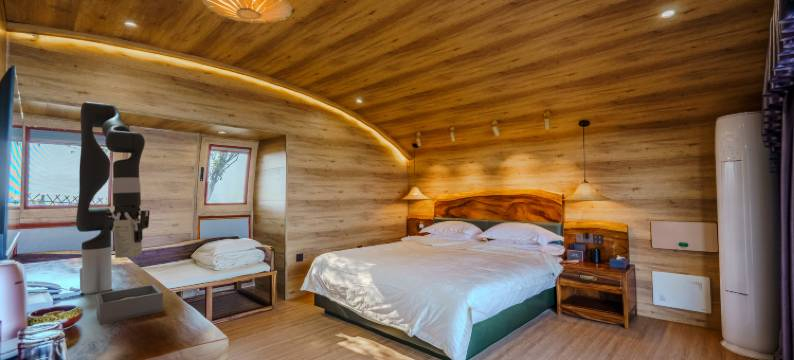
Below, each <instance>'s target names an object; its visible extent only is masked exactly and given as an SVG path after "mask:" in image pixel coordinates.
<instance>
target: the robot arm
mask: <svg viewBox="0 0 794 360" xmlns="http://www.w3.org/2000/svg"><path fill="white" fill-rule="evenodd" d="M93 128H100V129H101V131H102V134H103V135H104V137H105V147H106V149H107V150H109V152H113V153H117V154H118V153H119V154H121V153H123V154H124V153H125V154H130V156H129V157H128V158H125V159H118V160H115V161H114V162H113V163H112V174H113V175H112V177H113V179H112V184H111V185H112V186H111V187H112V206H113V207H114V210H113V211H111V208H109V207H90V205H91V203H92V201H93V199H94V197H95V196H96V195H97V193H98V192H99V191H100V190H102V188H103V187H104V186H105V185H106V184H107V182H108V180H109V179H110V175H111V173H110V171H111V161H110V159H109V157H108V155H107V154H106V152H105V151H104V149H103V148H102V147H101V145H100V144H99V143H98V141H97V139H96V138H95V134H94V131H93V130H94V129H93ZM80 134H81V135H80V136H81V137H80V138H81V140H80V143H81V145H80V157H79V174H78V175H79V180H78V182H79V183H78V184H79V186H78V187H79V189H78V200H77V201H78V202H77V210H76V219H75V221H76V222H75V224H76V229H77V231H79V232H81V233H82V232H84V233H85V232H86V233H87V232H99V231H100V232H99V233H98V234H97V235H96V236H93V237H91V238H90V239H87V240H86V239H85V241H84V240H83V242H82V243H81V265H82V266H81V268H80V269H79V291H80V290H81V291H82V292H83V293H82V294H84V295H86V294H87V295H88V294H89V295H90V294H98V293H104V292H109V291H110V290H113V277H112V276H113V275H112V273H113V272H112V271H113V270H112V267H113V265H112V239H113V241H114V223H113V221H118V220H132V225H133V228H134V230H135V231H134V242H135V243H138V242H141V243H142V241H143V238H144V237H143V231H144V230H146V229H148V228H149V225H150V215H151V214H150V210H148V209H147V210H142V209H141V207H140V206H141V205H142V199H141V198H142V196H141V194H142V193H141V191H142V190H141V180H140V162H141V158H142V155H143V151H144V149H145V146H146V145H145V144H146V140H145V137H144V136H143V134H141V133H140V132H135V131H131V130H130V129H129V128H128V127H127V125H125V123H124V121H123V119H122V116H121V113H120V111H119V109H118V108H117V107H116V105H113V104H109V103H101V102H100V103H99V102H91V101H84V102H82V104H81V108H80ZM133 219H139V221H134V220H133ZM137 224H138V226H137ZM112 232H113V233H112ZM112 234H113V235H112ZM112 236H113V237H112Z"/></svg>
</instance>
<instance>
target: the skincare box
mask: <svg viewBox="0 0 794 360" xmlns="http://www.w3.org/2000/svg"><path fill="white" fill-rule="evenodd" d="M133 220H134V221H139V219H133ZM113 223H114V238H113V239H114V240H113V242H114V254H115V255H114V258H115V259H123V258H136V257H140V256H142V255H143V252H142V251H143V250H142V247H143V246H142V241H141V242H138V243H135V242H134V231H135V230H134V228H133V225H132V220H118V221H113ZM137 226H138V224H137Z"/></svg>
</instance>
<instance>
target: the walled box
mask: <svg viewBox="0 0 794 360" xmlns="http://www.w3.org/2000/svg"><path fill="white" fill-rule="evenodd" d="M163 296H164V295H163V292H162V291H161V290H160V288H158V286H157V285H156V284H155V283H154V284H153V283H152V284H148V285H141V286H136V287H129V288H124V289H117V290H112V291H110V290H109V291H104V292H99V293H96V313H97V317H98V322H99V325H100V326H101V325H104V324H109V323H114V322H119V321H124V320H128V319H133V317H134V318H138V317H143V315H144V316H147V315H148V316H149V315H152V314H158V313H162V312H163V311H164V301H163V300H164V298H163Z"/></svg>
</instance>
